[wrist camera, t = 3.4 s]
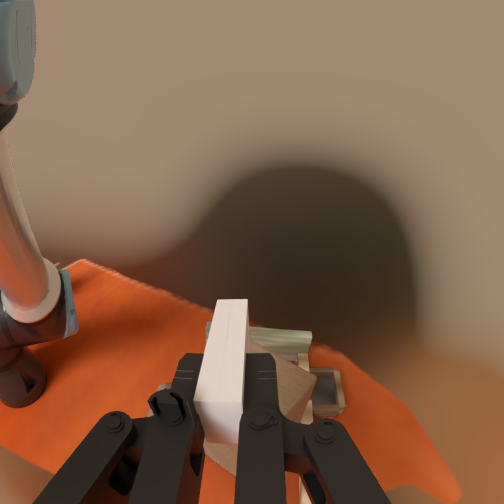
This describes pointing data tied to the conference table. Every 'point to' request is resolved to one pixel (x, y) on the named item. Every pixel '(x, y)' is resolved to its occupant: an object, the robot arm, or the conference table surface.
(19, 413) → the conference table surface
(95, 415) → the conference table surface
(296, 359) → the tray
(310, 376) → the wooden block
